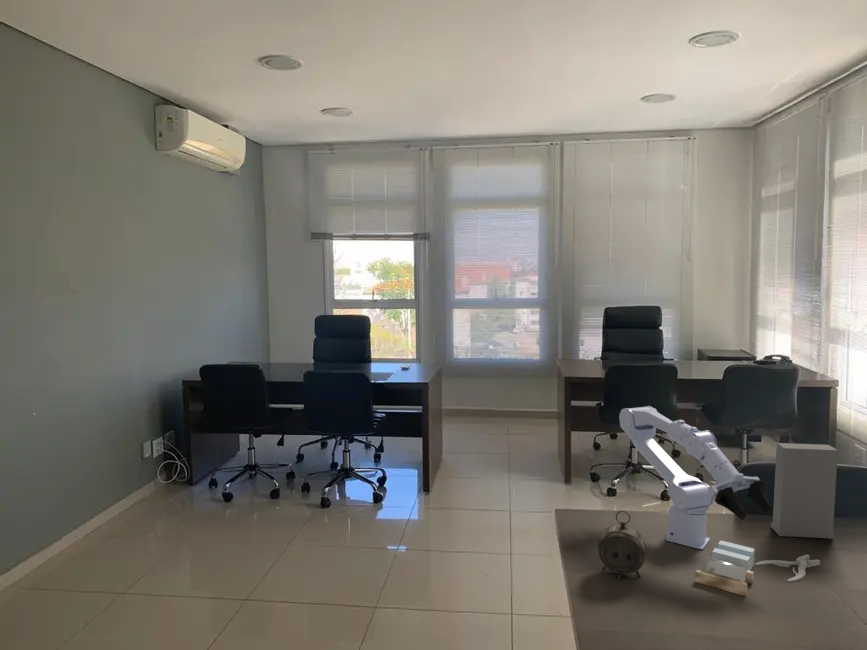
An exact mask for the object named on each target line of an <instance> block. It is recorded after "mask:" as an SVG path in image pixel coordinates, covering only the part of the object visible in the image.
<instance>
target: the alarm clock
mask: <svg viewBox="0 0 867 650" xmlns="http://www.w3.org/2000/svg"><path fill="white" fill-rule="evenodd" d="M620 513H625V514H626V515H627V516H628V521H627V522H625V521H619V520H618V515H619V514H620ZM615 519H616V522H617V523H619V524H613V525H610V526H608V527H606V529H604V530H603V532H602V533H601V534H600V535H601V536H600V538H599V541H598V544H597V545H598V546H597V552H598V556H599V559H600V561H601V562H602V563H603V565H604V566H603V567H601V569H602V570H605V569H606V568H608V569H609V570H611V571H612V572H614V573H616V574H617V579H618V580H620V579H621V578H622V575H629V574H630V575H631V574H633V573H635V575H637V577H638V578H641V574H640V573H639V570H640V569H641V568H642V567H643V565H644V563H645V559H646V555H647V544H646V541H645V539H644V538H643V537H644V536H642V534H641V533H640V532H639V531H638V530H637V529H635V528H633V527H631V526H630V525H627V524H629V523H630V521H631V515H630V513H628V512H627V511H626V510H619V511H617V513H615Z"/></svg>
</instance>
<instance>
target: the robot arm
mask: <svg viewBox="0 0 867 650" xmlns="http://www.w3.org/2000/svg"><path fill="white" fill-rule="evenodd" d="M618 418H619V419H618V420H619V426H620V428H621V429H622V431H624V433H625V434H626V435H627V436H628V437H629V438H630V441H631V442H632V444H633V445H634V447H635V449H637V451H639V453H640V454H641V455H642V456H643V458H645V460H646V461H647V462H648V463H649V464H650V465H651V466H652V468H653V469H654V470H656V472H657V473H658V474H659V475H660V476H661V477H662V479H663V480H664V481H666V483H667V484H668V485H669V486H668V488H667V495H668V496H669V497H670V499H671V501H672V504H671V505H670V507H669V510H668V514H667V527H666V529H667V530H666V532H667V533H666V539H665V540H666V541H668V542H669V543H670V542H671V543H675V544H680V545H682V546H687V547H690V548H695V549H698V550H704V548H705V547H706V545H708V543H709V542H710V541H711V538H710V537H708V536H707V515H708V514H707V512H708V511H709V510H710V507H711V506H712V505H713V504H714V502H715V503H716V504H717V505H719V506H722V507H723V508H725V509H727V510H729V511H730V512H731V513H733V514H734V516H737V517H738V518H739V519H740V520H741V521H744V520H745V519H746V518H747V516H748V513H747V511H746V509H745V508H744V506H743V505H742V504H741V502H740V500H738V498H737V496H736V494H735V492H737V491H738V492H739V491H741V490H745V489H747V490H748V493H747V494H746V497H747V498H749V499H750V500H752V501H753V502H754V503H755V504H756V505H757V506H758V507H759V508H760V509H761V510H762V512H764V514H766V515H769V514H771V512H772V511H773V508H774V507H773V506H772V505H771V503H770V500H769V499H768V495H767V492H766V489H765V484H764V481H762V479H760V478H759V477H758V476H747V475H744V473H741V472H739V471H738V470H737V469H736V467H735V466H734V464H732V463H731V461H730V460H729V459H728V458H727V456H726V455H725V454H724V453H723V452H722V451H721V449H720V448H719V447H718V441H717V439H716V436H715V434H714V433H713V432H712V431H710V430H707V429H705V430H699V429H698V428H697V427H695V426H692V425H689V424H687V423H686V421H685V420H683V419H678V420H671V419H670V418H668V417H666V416H664V415H663V414H661V413H660V412H659V411H658V410H657V408H654V407H652V406H651V405H646V406H641V407H640V406H639V407H631V408H629V407H628V408H627V407H625V408H622V409H621V410H620V412H619V417H618ZM657 429H658V430H660V431H663V432H665V433H666V435H667V438H669V439H670V440H672V441H673V442H675V443H677V444H679V445H680V446H683V447H684V448H685V449H686V450H685V451H686V452H685V453H687V454H689V456H693V457H694V458H696V460H698V461H699V462H700V463H701V464H702V466H703V467H704V468H705V469H706V470H707V471H708V473H709V475H711V477H712V478H713V480H714V481H715V483H716V484H712V485H710V484H707V483H706V482H704V481H701V480H700V478H698V477H695V476H693V475H690V474H687V473H686V472H685V471H684V470H683V469H682V468H681V466H679V465H678V464H677V462H675V460H674V459H673V458H672V457H671V456H670V455H669V454H668V453H667V452H666V451H665V450H664V449H663V447H661V446H660V444H658V443H657V441H656V440H655V439H653V438H655V437H656V434H657V433H656V432H657Z"/></svg>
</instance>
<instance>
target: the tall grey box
mask: <svg viewBox="0 0 867 650" xmlns="http://www.w3.org/2000/svg"><path fill="white" fill-rule="evenodd" d="M838 451H839V450H838V449H837V448H835V447H833V446H831V445H829V444H817V443H816V444H814V443H793V442H792V443H789V442H788V443H787V442H786V443H785V442H776V450H775V452H776V454H775V468H774V470H775V471H774V490H773V491H774V492H773V493H774V494H773V495H774V496H773V507H772V508H773V509H772V511H773V512H772V522H771V523H770V527H771V529H772V530H773V531H774V532H775V533H776V534H777V535H778V536H779V537H797V538H798V537H799V538H816V539H827V538H828V539H827V540H831V539H832V540H833V539H834V535H835V534H834V518H835V506H836V504H835V503H836V502H835V501H836V490H837V489H836V485H837V469H838V468H837V467H838V454H839V452H838Z"/></svg>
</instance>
